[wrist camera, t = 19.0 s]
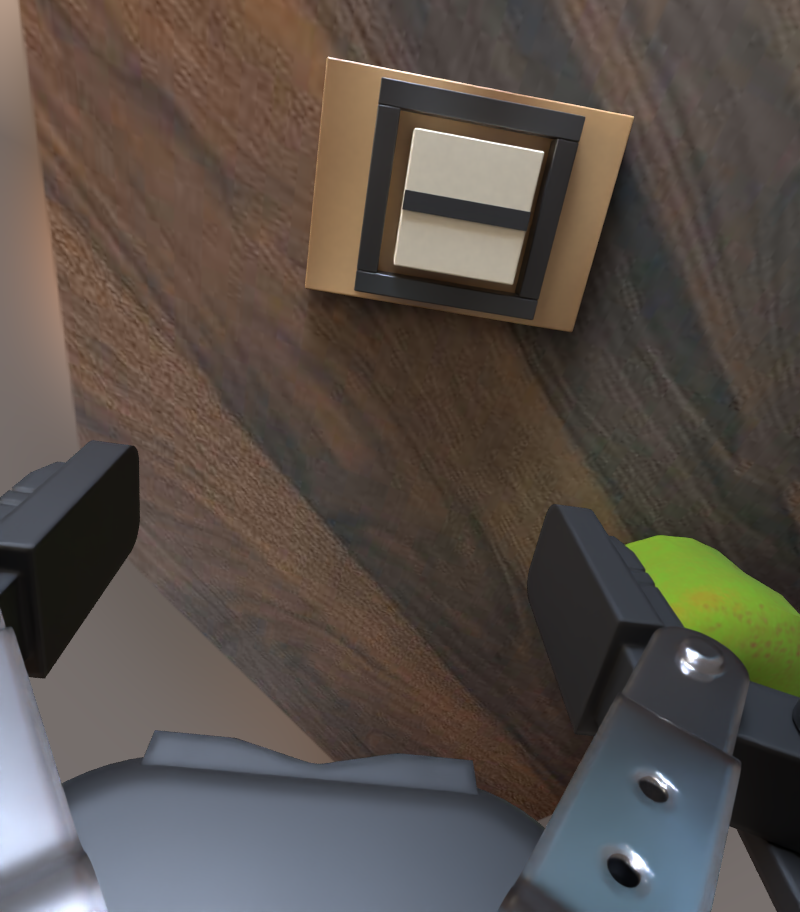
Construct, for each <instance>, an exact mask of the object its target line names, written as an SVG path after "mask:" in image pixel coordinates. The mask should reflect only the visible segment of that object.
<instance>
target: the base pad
mask: <svg viewBox="0 0 800 912" xmlns="http://www.w3.org/2000/svg"><path fill="white" fill-rule="evenodd" d="M633 120H634V117H633V116H629V115H624V114H619V113H614V112H608V111H603V110H598V109H593V108H588V107H583V106H578V105H573V104H567V103H562V102H557V101H552V100H547V99H542V98H537V97H532V96H527V95H521V94H516V93H511V92H506V91H501V90H496V89H491V88H486V87H480V86H475V85H470V84H465V83H460V82H455V81H450V80H445V79H440V78H434V77H429V76H424V75H419V74H414V73H409V72H404V71H399V70H393V69H388V68H383V67H378V66H373V65H368V64H363V63H358V62H353V61H347V60H342V59H337V58H332V57H327V61H326V72H325V82H324V92H323V103H322V113H321V124H320V134H319V145H318V155H317V166H316V176H315V187H314V197H313V207H312V218H311V228H310V239H309V249H308V260H307V270H306V281H305V288H306V289H312V290H318V291H324V292H330V293H336V294H342V295H348V296H354V297H360V298H366V299H372V300H378V301H385V302H391V303H397V304H403V305H409V306H415V307H421V308H427V309H433V310H439V311H445V312H451V313H457V314H463V315H469V316H476V317H482V318H488V319H494V320H500V321H506V322H512V323H518V324H524V325H530V326H536V327H542V328H548V329H554V330H560V331H566V332H572V331H573V328H574V325H575V321H576V318H577V314H578V311H579V307H580V304H581V300H582V297H583V293H584V290H585V286H586V283H587V279H588V276H589V273H590V269H591V266H592V262H593V259H594V255H595V252H596V248H597V245H598V241H599V238H600V234H601V231H602V227H603V224H604V221H605V217H606V214H607V210H608V207H609V203H610V200H611V196H612V193H613V189H614V186H615V182H616V179H617V175H618V172H619V169H620V165H621V162H622V158H623V155H624V151H625V148H626V144H627V141H628V137H629V134H630V130H631V127H632V123H633ZM415 128H421V129H426V130H431V131H437V132H442V133H447V134H453V135H458V136H463V137H468V138H474V139H479V140H484V141H490V142H495V143H500V144H506V145H511V146H516V147H522V148H527V149H532V150H538V151H543V152H544V157H543V161H542V165H541V169H540V174H539V178H538V182H537V186H536V190H535V195H534V199H533V203H532V207H531V211H530V212H531V215H530V219H529V223H528V227H527V231H526V232H525V237H524V241H523V245H522V249H521V253H520V258H519V262H518V266H517V270H516V274H515V279H514V283H513V285H508V284H502V283H496V282H490V281H484V280H478V279H473V278H467V277H461V276H455V275H449V274H443V273H437V272H431V271H425V270H420V269H414V268H408V267H402V266H396V265H394V252H395V245H396V239H397V232H398V226H399V219H400V213H401V206H402V200H403V193H404V187H405V180H406V173H407V167H408V160H409V154H410V147H411V141H412V134H413V131H414V129H415Z"/></svg>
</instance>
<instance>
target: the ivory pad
mask: <svg viewBox="0 0 800 912" xmlns="http://www.w3.org/2000/svg"><path fill="white" fill-rule="evenodd" d="M543 157H544V152H543V151H538V150H532V149H527V148H522V147H516V146H511V145H506V144H500V143H495V142H490V141H484V140H479V139H474V138H468V137H463V136H458V135H453V134H447V133H442V132H437V131H431V130H426V129H421V128H415V129H414V131H413V134H412V141H411V147H410V154H409V160H408V167H407V173H406V180H405V187H404V193H403V200H402V206H401V213H400V219H399V226H398V232H397V239H396V245H395V252H394V265H396V266H402V267H408V268H414V269H420V270H425V271H431V272H437V273H443V274H449V275H455V276H461V277H467V278H473V279H478V280H484V281H490V282H496V283H502V284H508V285H513V283H514V279H515V274H516V270H517V266H518V262H519V258H520V253H521V249H522V245H523V241H524V237H525V232H526V231H527V227H528V223H529V219H530V215H531V212H530V211H531V207H532V203H533V199H534V195H535V190H536V186H537V182H538V178H539V174H540V169H541V165H542V161H543Z"/></svg>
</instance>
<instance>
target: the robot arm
mask: <svg viewBox="0 0 800 912" xmlns="http://www.w3.org/2000/svg"><path fill="white" fill-rule="evenodd" d="M139 522H140V501H139V456H138V451H137V449H136V447H135V446H131V445H123V444H116V443H109V442H101V441H94V440H92V441H90V442H88V443H87V444H86V445H85V446H84V447H83V448H82V449H81V450H79V451H78V452H77V453H76V454H75V455H74V456H73V457H72V458H70V459H69V460H68V461H67V462H66V463H63V462H55V463H53V464H50V465H48V466H46V467H43V468H41V469H38V470H36V471H33V472H31V473H30V474H28V475H27V476H26V477H24V478H23V479H22V480H21V481H20V482H18V483H17V484H16V485H15V486H14V487H12V491H10V490H9V491H7V492H6V493H5V494H4V495H3V496H1V497H0V912H711V910H712V904H713V900H714V895H715V890H716V886H717V881H718V876H719V872H720V867H721V862H722V857H723V853H724V848H725V843H726V838H727V834H728V829H729V826H731V827H733V828H736V829H737V831H738V833H739V835H740V837H741V839H742V841H743V843H744V845H745V847H746V849H747V852H748V853H749V856H750V858H751V860H752V862H753V864H754V866H755V868H756V870H757V872H758V874H759V876H760V878H761V880H762V882H763V884H764V886H765V888H766V890H767V892H768V894H769V896H770V898H771V901H772V903H773V905H774V907H775V908H776V911H777V912H800V697H797V696H794V695H791V694H788V693H785V692H782V691H779V690H776V689H773V688H770V687H767V686H764V685H761V684H758V683H755V682H752V681H750V678H749V674H748V671H747V669H746V667H745V666H744V664H743V663H742V661H741V660H740V659H739V658H738V657H737V656H736V655H735V654H734V653H733V652H732V651H731V650H729V649H728V648H727V647H726V646H724V645H723V644H721V643H720V642H718V641H716V640H715V639H713V638H711V637H709V636H707V635H705V634H703V633H700V632H698V631H695V630H692V629H688V628H685V627H684V626H683V624H682V623H681V621H680V620H679V618H678V617H677V615H676V614H675V612H674V611H673V609H672V608H671V606H670V605H669V603H668V602H667V600H666V599H665V597H664V596H663V595H662V593H661V592H660V590H659V589H658V587H655V583H654V581H653V580H652V578H651V577H650V575H649V574H648V573H645V570H646V569H645V568H644V566H643V565H642V563H641V562H640V560H639V559H638V557H637V556H636V554H635V553H634V552H633V551H632V550H630V549H629V548H628V547H627V546H625V545H624V544H623V543H622V542H620V541H619V540H618V539H617V538H615V537H614V536H608V534H607V533H606V531H605V530H604V528H603V526H602V525H601V523H600V522H599V520H598V519H597V517H596V515H595V514H594V512H593V511H592V510H591V509H586V508H579V507H571V506H564V505H557V504H553V505H551V506H550V508H549V509H548V511H547V513H546V516H545V519H544V523H543V526H542V529H541V532H540V536H539V539H538V542H537V546H536V549H535V552H534V555H533V559H532V562H531V565H530V569H529V573H528V581H527V593H528V599H529V603H530V606H531V608H532V611H533V614H534V617H535V620H536V623H537V626H538V629H539V632H540V634H541V637H542V640H543V643H544V646H545V649H546V652H547V655H548V658H549V660H550V663H551V666H552V669H553V672H554V675H555V678H556V681H557V683H558V686H559V689H560V692H561V695H562V698H563V701H564V704H565V707H566V709H567V712H568V715H569V718H570V721H571V724H572V727H573V730H574V733H575V734H579V735H588V736H594V738H593V740H592V742H591V744H590V746H589V748H588V749H587V751H586V753H585V755H584V757H583V759H582V761H581V762H580V764H579V766H578V768H577V770H576V772H575V774H574V775H573V777H572V779H571V781H570V783H569V785H568V787H567V789H566V790H565V792H564V794H563V796H562V798H561V800H560V802H559V803H558V805H557V807H556V809H555V811H554V813H553V815H552V816H551V819H550V820H549V822H548V824H547V826H546V828H544V827H543V826H542V825H541V824H540V823H538V822H537V821H536V820H534V819H533V818H532V817H530V816H529V815H528V814H526V813H525V812H524V811H522V810H521V809H519V808H517V807H516V806H514V805H512V804H511V803H509V802H507V801H506V800H504V799H502V798H500V797H497V796H495V795H493V794H491V793H489V792H487V791H484V790H481V789H479V788H477V786H476V780H475V773H474V767H473V761H472V760H462V759H451V758H441V757H430V756H420V755H409V754H399V753H396V754H389V755H382V756H375V757H367V758H360V759H353V760H346V761H339V762H332V763H325V764H314V763H309V762H306V761H302V760H300V759H297V758H294V757H290V756H288V755H285V754H282V753H279V752H276V751H273V750H270V749H267V748H264V747H261V746H258V745H255V744H252V743H249V742H246V741H243V740H240V739H237V738H231V737H221V736H210V735H200V734H189V733H178V732H168V731H158V730H155V731H154V733H153V736H152V738H151V741H150V743H149V746H148V748H147V750H146V753H145V755H144V757H142V758H136V759H130V760H125V761H122V762H118V763H113V764H109V765H106V766H103V767H100V768H97V769H94V770H91V771H88V772H86V773H84V774H81V775H79V776H77V777H75V778H72V779H70V780H68V781H66V782H64V783H61V780H60V777H59V773H58V770H57V767H56V764H55V761H54V758H53V755H52V751H51V748H50V745H49V742H48V738H47V735H46V732H45V729H44V725H43V722H42V719H41V716H40V712H39V709H38V706H37V703H36V700H35V696H34V693H33V690H32V687H31V684H30V680H29V677H34V678H45V677H46V676H47V674H48V673H49V672H50V670H51V669H52V667H53V666H54V664H55V663H56V661H57V659H58V658H59V657H60V655H61V654H62V652H63V651H64V649H65V648H66V646H67V645H68V644H69V642H70V641H71V639H72V638H73V636H74V635H75V633H76V632H77V630H78V629H79V627H80V626H81V624H82V623H83V621H84V620H85V619H86V617H87V616H88V614H89V613H90V611H91V610H92V608H93V607H94V605H95V604H96V602H97V601H98V599H99V598H100V597H101V595H102V594H103V592H104V591H105V589H106V588H107V586H108V585H109V583H110V581H111V580H112V579H113V577H114V576H115V574H116V573H117V572H118V570H119V569H120V567H121V566H122V564H123V563H124V561H125V560H126V558H127V557H128V555H129V554H130V552H131V551H132V549H133V547H134V544H135V542H136V539H137V535H138V530H139Z"/></svg>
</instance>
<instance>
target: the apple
mask: <svg viewBox="0 0 800 912" xmlns="http://www.w3.org/2000/svg"><path fill="white" fill-rule="evenodd" d="M625 546H627V547H628V548H629V549H630V550H632V551H633V552H634V553H635V554H636V556H637V557H638V559H639V560H640V562H641V563H642V565H643V566H644V568H645V569H646V570H645V573H648V574H649V575H650V577H651V578H652V580H653V581H654V583H655V587H658V589H659V590H660V592H661V593H662V595H663V596H664V597H665V599H666V600H667V602H668V603H669V605H670V606H671V608H672V609H673V611H674V612H675V614H676V615H677V617H678V618H679V620H680V621H681V623H682V624H683V626H684V627H685V628H688V629H692V630H695V631H698V632H700V633H703V634H705V635H707V636H709V637H711V638H713V639H715V640H716V641H718V642H720V643H721V644H723V645H724V646H726V647H727V648H728V649H729V650H731V651H732V652H733V653H734V654H735V655H736V656H737V657H738V658H739V659H740V660H741V661H742V663H743V664H744V666H745V667H746V669H747V671H748V674H749V678H750V681H752V682H755V683H758V684H761V685H764V686H767V687H770V688H773V689H776V690H779V691H782V692H785V693H788V694H791V695H794V696H797V697H800V615H799V613H798V612H797V611H796V610H795V609H794V608H793V607H792V606H791V605H790V604H789V603H788V602H787V601H786V600H785V598H784V597H783V596H782V595H780V594H779V593H777V592H775V591H774V590H772V589H770V588H769V587H767V586H765V585H764V584H762V583H760V582H759V581H757V580H755V579H754V578H752V577H750V576H749V575H747V574H745V573H744V572H743V571H742V570H740V569H739V568H738V567H737V566H736V565H734V564H733V563H732V562H731V561H730V560H728V559H727V558H726V557H725V556H724V555H722V554H721V553H720V552H719V551H717V550H715V549H713V548H711V547H709V546H707V545H705V544H702V543H700V542H698V541H696V540H694V539H692V538H682V537H672V536H662V535H658V536H654V537H651V538H647V539H644V540H640V541H636V542H633V543H629V544H626V545H625Z"/></svg>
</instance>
